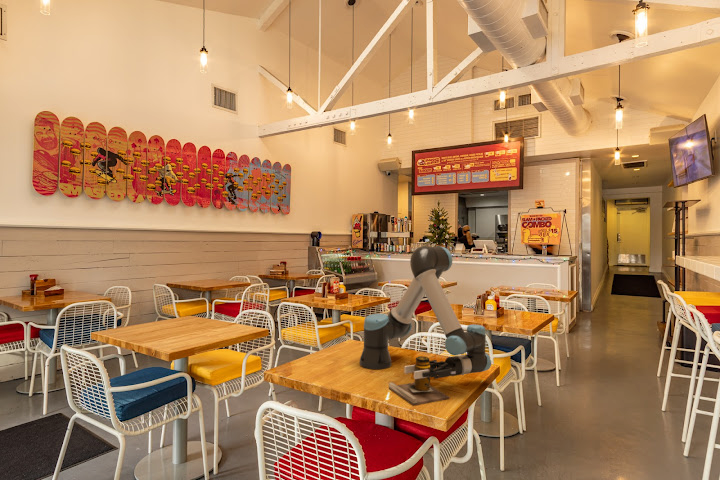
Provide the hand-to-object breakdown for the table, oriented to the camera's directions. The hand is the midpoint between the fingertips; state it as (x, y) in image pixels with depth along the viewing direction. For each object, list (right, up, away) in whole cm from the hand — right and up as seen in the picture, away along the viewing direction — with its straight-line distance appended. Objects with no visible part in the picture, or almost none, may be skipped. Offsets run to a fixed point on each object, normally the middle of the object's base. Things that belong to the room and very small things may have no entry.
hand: (409, 372), depth 152 cm
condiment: (+4, -7, +2) cm, 9 cm away
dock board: (+4, -9, +2) cm, 10 cm away
